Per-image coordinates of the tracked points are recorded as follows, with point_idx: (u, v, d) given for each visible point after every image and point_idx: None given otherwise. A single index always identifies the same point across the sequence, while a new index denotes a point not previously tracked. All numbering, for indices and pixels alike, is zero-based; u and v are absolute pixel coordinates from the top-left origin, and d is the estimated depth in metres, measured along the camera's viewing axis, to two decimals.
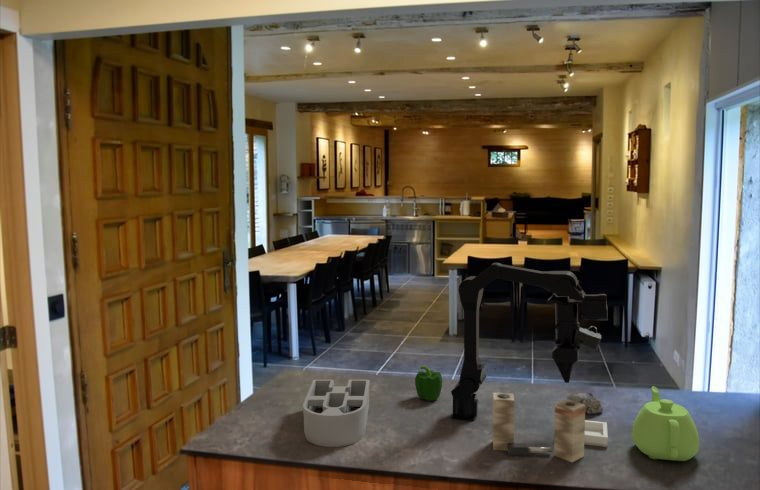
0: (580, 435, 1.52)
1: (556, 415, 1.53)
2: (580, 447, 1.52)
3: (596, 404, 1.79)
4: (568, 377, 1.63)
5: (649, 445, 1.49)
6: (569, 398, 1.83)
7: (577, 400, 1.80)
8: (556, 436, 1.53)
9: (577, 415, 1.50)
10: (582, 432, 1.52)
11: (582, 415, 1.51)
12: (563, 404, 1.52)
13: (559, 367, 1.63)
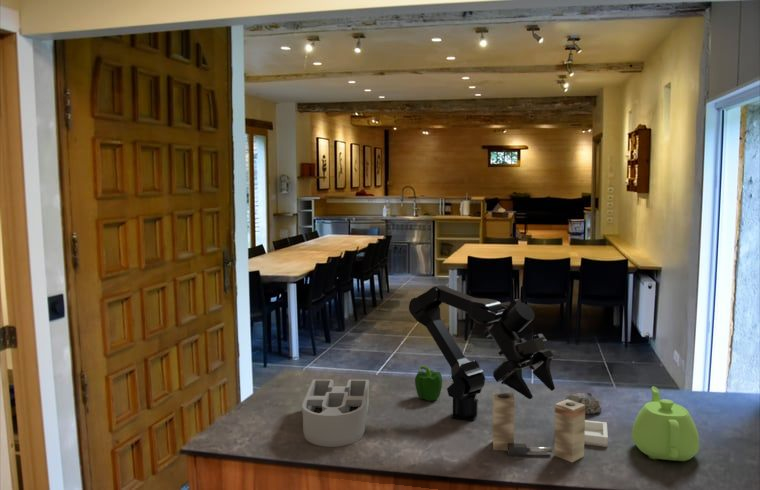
0: (580, 435, 1.52)
1: (556, 415, 1.53)
2: (580, 447, 1.52)
3: (595, 404, 1.79)
4: (527, 392, 1.55)
5: (649, 445, 1.49)
6: (568, 398, 1.83)
7: (576, 400, 1.81)
8: (556, 436, 1.53)
9: (577, 415, 1.50)
10: (582, 432, 1.52)
11: (582, 415, 1.51)
12: (563, 404, 1.52)
13: (513, 387, 1.57)
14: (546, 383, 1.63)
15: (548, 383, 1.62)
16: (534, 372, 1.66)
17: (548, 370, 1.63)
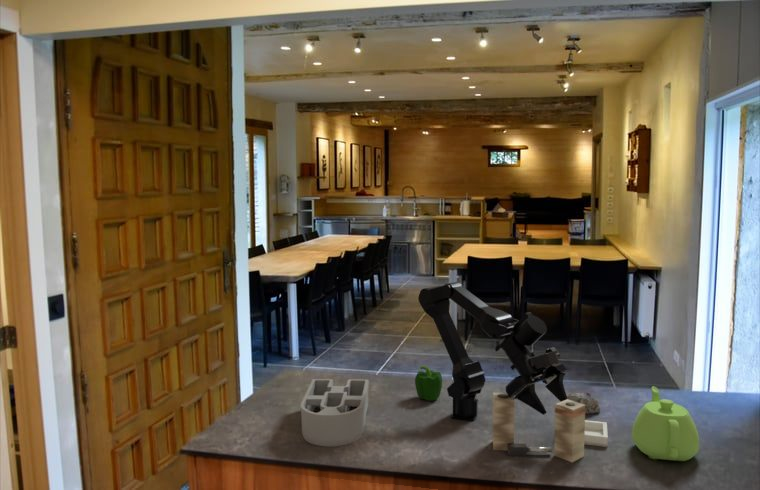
0: (580, 435, 1.52)
1: (556, 415, 1.53)
2: (580, 447, 1.52)
3: (593, 404, 1.79)
4: (540, 407, 1.52)
5: (649, 445, 1.49)
6: (567, 398, 1.83)
7: (575, 400, 1.81)
8: (556, 436, 1.53)
9: (577, 415, 1.50)
10: (581, 432, 1.52)
11: (582, 415, 1.51)
12: (563, 404, 1.52)
13: (526, 402, 1.55)
14: (559, 398, 1.60)
15: (561, 398, 1.59)
16: (547, 386, 1.63)
17: (561, 384, 1.60)
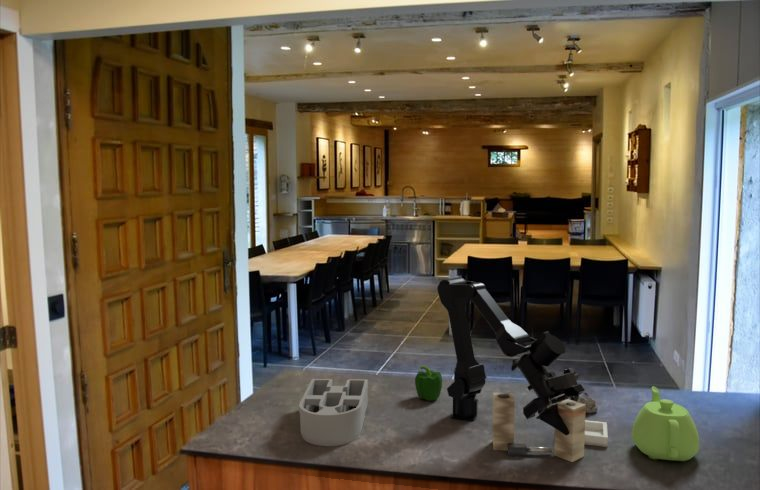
0: (580, 435, 1.52)
1: None
2: (580, 447, 1.52)
3: (590, 404, 1.80)
4: (563, 428, 1.50)
5: (649, 445, 1.49)
6: None
7: None
8: (556, 436, 1.53)
9: (577, 414, 1.50)
10: (582, 432, 1.52)
11: (582, 415, 1.51)
12: (563, 404, 1.52)
13: (549, 423, 1.52)
14: None
15: None
16: None
17: None
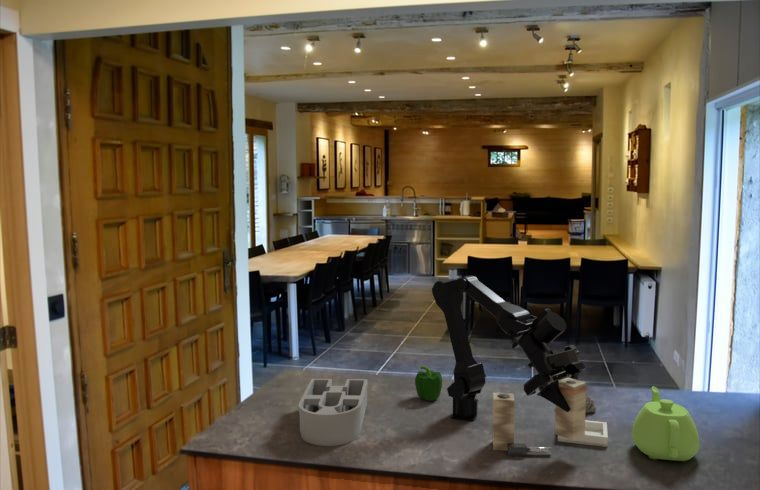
0: (581, 413, 1.51)
1: None
2: (581, 425, 1.51)
3: (588, 403, 1.80)
4: (564, 405, 1.49)
5: (649, 445, 1.49)
6: None
7: None
8: (557, 414, 1.52)
9: (578, 392, 1.49)
10: (582, 410, 1.51)
11: (583, 393, 1.51)
12: (563, 382, 1.52)
13: (550, 399, 1.51)
14: None
15: None
16: None
17: None
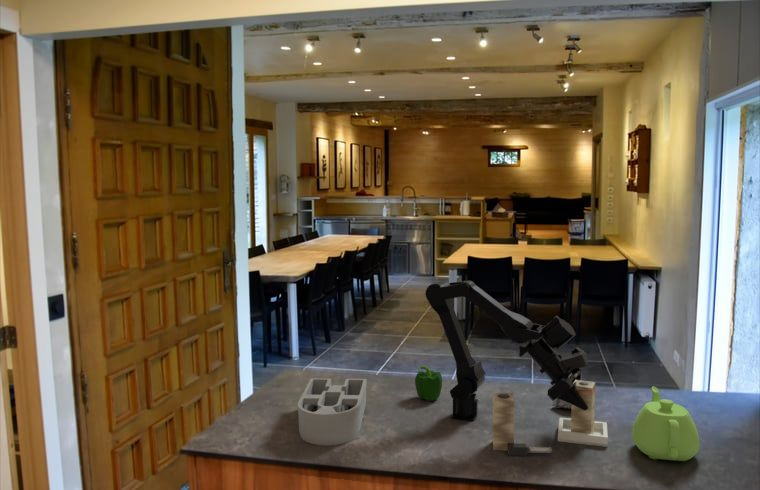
0: (593, 411, 1.64)
1: None
2: (593, 422, 1.64)
3: None
4: (583, 404, 1.61)
5: (649, 445, 1.49)
6: None
7: None
8: (573, 415, 1.63)
9: (593, 392, 1.62)
10: (593, 408, 1.64)
11: (594, 392, 1.64)
12: (578, 384, 1.63)
13: (568, 401, 1.61)
14: None
15: None
16: None
17: None
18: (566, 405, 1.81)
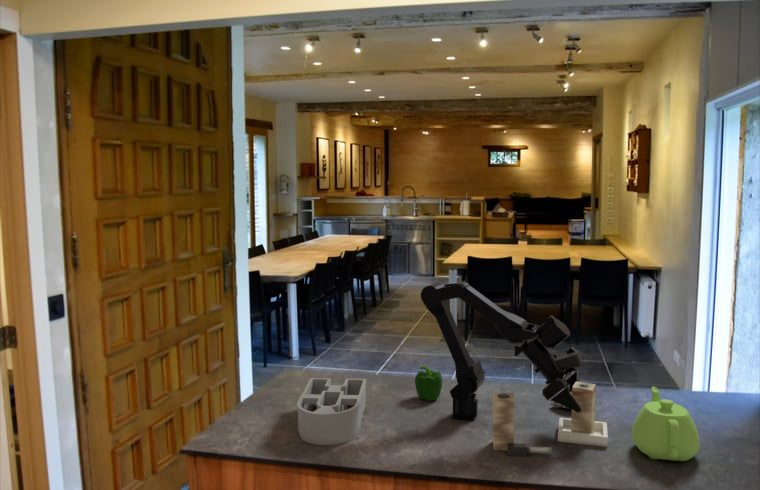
0: (593, 413, 1.64)
1: (573, 397, 1.62)
2: (593, 424, 1.64)
3: None
4: (576, 406, 1.60)
5: (649, 445, 1.49)
6: None
7: None
8: (573, 417, 1.63)
9: (593, 394, 1.62)
10: (594, 410, 1.64)
11: (594, 394, 1.64)
12: (578, 386, 1.63)
13: (562, 403, 1.60)
14: None
15: None
16: None
17: (578, 381, 1.70)
18: None
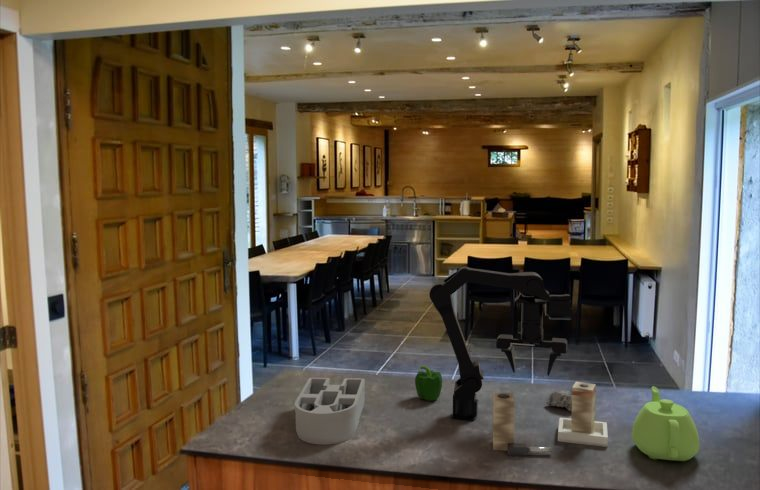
0: (593, 413, 1.64)
1: (573, 397, 1.62)
2: (593, 424, 1.64)
3: None
4: None
5: (649, 445, 1.49)
6: (552, 394, 1.86)
7: (558, 397, 1.83)
8: (573, 417, 1.63)
9: (593, 394, 1.62)
10: (594, 410, 1.64)
11: (594, 394, 1.64)
12: (578, 386, 1.63)
13: (553, 362, 1.71)
14: (514, 365, 1.76)
15: (514, 365, 1.76)
16: (511, 351, 1.74)
17: None
18: (559, 404, 1.83)
